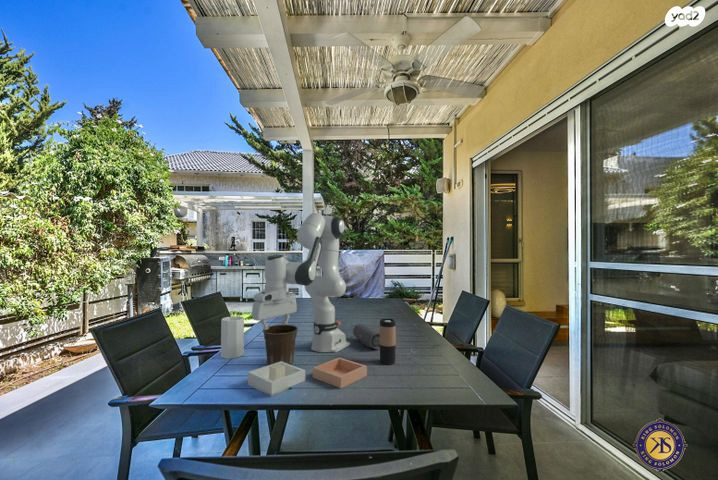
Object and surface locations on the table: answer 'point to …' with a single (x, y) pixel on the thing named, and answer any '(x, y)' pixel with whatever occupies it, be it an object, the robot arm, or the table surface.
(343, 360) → the terracotta bin
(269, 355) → the plant pot
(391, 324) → the travel mug
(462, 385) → the table surface
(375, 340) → the bluetooth speaker
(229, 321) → the cup
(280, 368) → the sandstone block
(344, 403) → the table surface
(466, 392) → the table surface
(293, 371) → the light grey bin
